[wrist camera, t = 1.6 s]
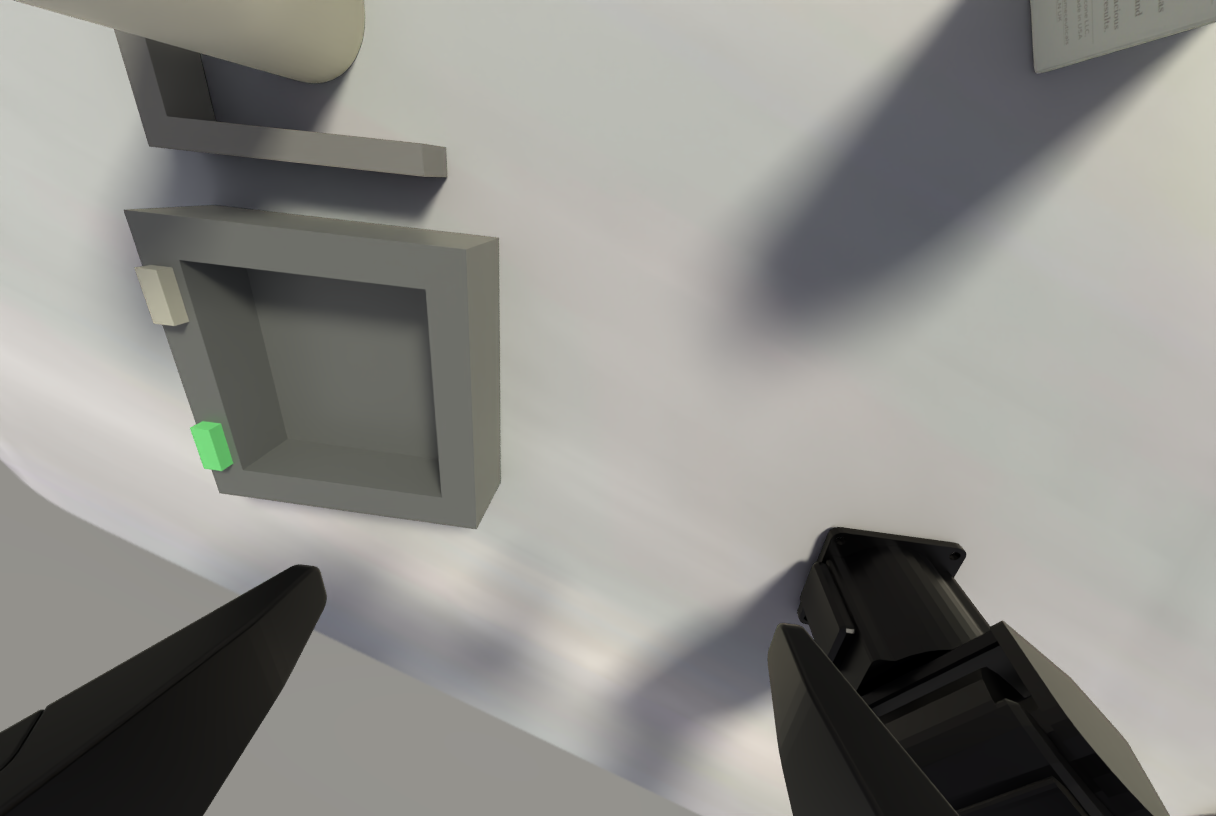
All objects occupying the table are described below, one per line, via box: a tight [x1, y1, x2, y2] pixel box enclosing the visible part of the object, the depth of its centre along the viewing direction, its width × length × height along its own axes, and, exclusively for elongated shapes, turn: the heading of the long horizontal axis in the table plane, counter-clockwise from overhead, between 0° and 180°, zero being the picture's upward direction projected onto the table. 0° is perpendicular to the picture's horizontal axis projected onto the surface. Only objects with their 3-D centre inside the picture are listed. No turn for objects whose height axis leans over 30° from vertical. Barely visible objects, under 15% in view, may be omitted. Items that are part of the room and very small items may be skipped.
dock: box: [124, 205, 501, 529], centre depth 20 cm, size 12×12×4 cm
